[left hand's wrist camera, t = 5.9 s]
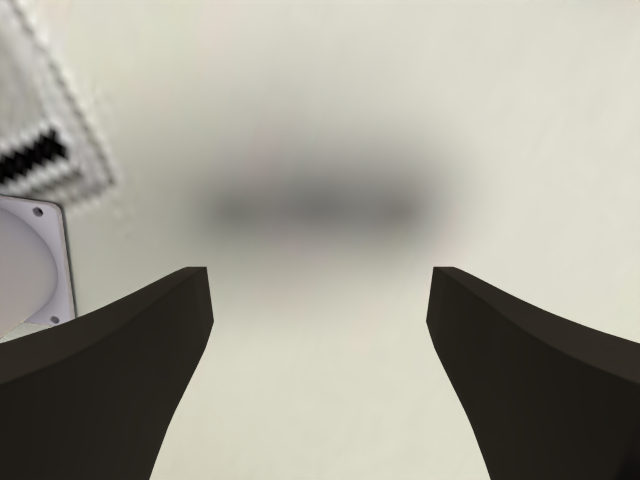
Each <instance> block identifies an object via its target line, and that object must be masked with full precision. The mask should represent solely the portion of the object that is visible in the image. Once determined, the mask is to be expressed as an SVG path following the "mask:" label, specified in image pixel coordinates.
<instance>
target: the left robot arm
mask: <svg viewBox="0 0 640 480" xmlns="http://www.w3.org/2000/svg"><path fill="white" fill-rule="evenodd" d="M38 208H40V209H41V210H42V212H43V214H41V213H40V212H39V210H38ZM56 317H57V318H58V319H57V318H56ZM22 322H27V323H35V324H43V325H51V326H54V327H51V328H48V329H45V330H42V331H39V332H36V333H32V334H29V335H26V336H23V337H20V338H17V339H14V340H11V341H7V342H4V343H0V480H149V479H150V476H151V473H152V470H153V467H154V464H155V461H156V459H157V456H158V453H159V450H160V448H161V445H162V442H163V439H164V437H165V434H166V431H167V429H168V426H169V424H170V421H171V419H172V417H173V415H174V412H175V410H176V408H177V406H178V404H179V402H180V400H181V398H182V396H183V394H184V392H185V390H186V388H187V386H188V384H189V382H190V380H191V377H192V375H193V373H194V371H195V369H196V367H197V365H198V363H199V361H200V359H201V357H202V355H203V352H204V350H205V348H206V345H207V342H208V339H209V336H210V333H211V329H212V326H213V323H214V318H213V311H212V304H211V296H210V289H209V282H208V274H207V267H185V268H182V269H180V270H178V271H175V272H173V273H171V274H169V275H167V276H165V277H163V278H161V279H159V280H157V281H155V282H153V283H151V284H150V285H148V286H146V287H144V288H142V289H140V290H138V291H136V292H134V293H132V294H130V295H128V296H125V297H123V298H121V299H119V300H117V301H115V302H113V303H111V304H108V305H106V306H104V307H102V308H100V309H98V310H95V311H93V312H90V313H88V314H86V315H83V316H81V317H78V318H75V312H74V305H73V297H72V290H71V282H70V274H69V267H68V259H67V251H66V244H65V236H64V228H63V221H62V213H61V210H60V208H59V207H58V206H57V205H55V204H53V203H48V202H41V201H34V200H27V199H20V198H13V197H6V196H0V338H2V337H3V336H5V335H6V334H7V333H9V332H10V331H11V330H13V329H14V328H15V327H17V326H18V325H20V324H21V323H22ZM426 323H427V326H428V329H429V333H430V336H431V339H432V342H433V345H434V348H435V350H436V352H437V355H438V357H439V359H440V361H441V363H442V365H443V367H444V369H445V371H446V373H447V375H448V377H449V380H450V382H451V384H452V386H453V388H454V390H455V392H456V394H457V396H458V398H459V400H460V402H461V404H462V406H463V408H464V410H465V412H466V415H467V417H468V419H469V421H470V424H471V426H472V429H473V431H474V434H475V437H476V439H477V442H478V445H479V448H480V450H481V453H482V456H483V459H484V461H485V464H486V467H487V470H488V473H489V476H490V479H491V480H640V343H637V342H633V341H630V340H627V339H623V338H620V337H617V336H614V335H611V334H607V333H604V332H601V331H598V330H595V329H592V328H589V327H586V326H584V325H581V324H578V323H576V322H573V321H570V320H568V319H565V318H562V317H560V316H557V315H555V314H552V313H550V312H547V311H545V310H543V309H541V308H538V307H536V306H534V305H532V304H530V303H527V302H525V301H523V300H521V299H519V298H517V297H515V296H512V295H510V294H508V293H506V292H504V291H502V290H500V289H498V288H497V287H495V286H493V285H491V284H489V283H487V282H485V281H483V280H481V279H479V278H477V277H475V276H473V275H471V274H469V273H467V272H465V271H463V270H460V269H458V268H455V267H433V274H432V282H431V289H430V296H429V304H428V311H427V318H426Z"/></svg>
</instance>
